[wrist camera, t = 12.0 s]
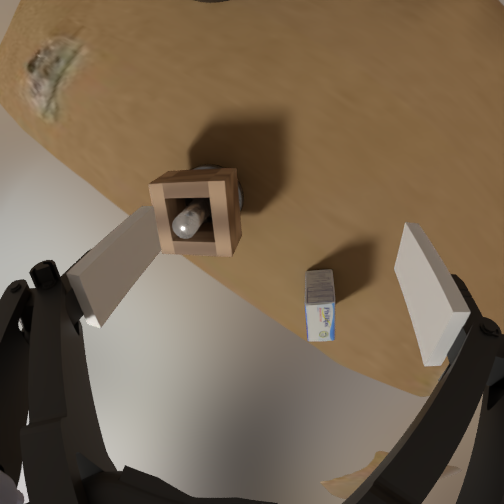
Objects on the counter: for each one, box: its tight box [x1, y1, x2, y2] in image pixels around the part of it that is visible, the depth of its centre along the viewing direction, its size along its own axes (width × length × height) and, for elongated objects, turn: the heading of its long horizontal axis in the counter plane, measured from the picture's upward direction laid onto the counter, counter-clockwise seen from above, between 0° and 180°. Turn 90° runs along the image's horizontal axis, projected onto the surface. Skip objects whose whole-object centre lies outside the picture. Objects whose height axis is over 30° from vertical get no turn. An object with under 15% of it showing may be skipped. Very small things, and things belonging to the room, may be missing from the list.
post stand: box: [172, 164, 244, 239], centre depth 39 cm, size 10×10×11 cm
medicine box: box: [305, 269, 335, 341], centre depth 45 cm, size 8×4×9 cm, turn 10°
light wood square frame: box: [148, 168, 242, 257], centre depth 39 cm, size 10×10×6 cm
